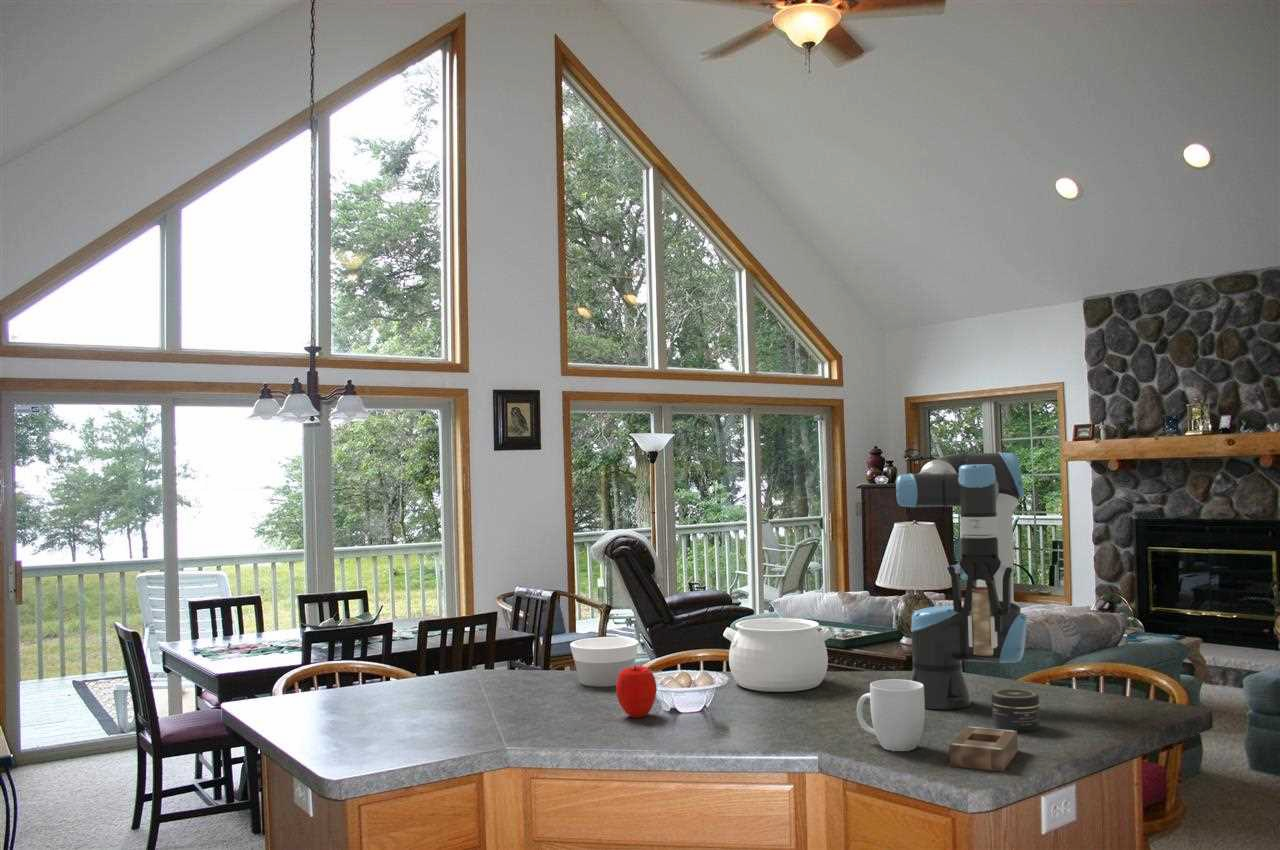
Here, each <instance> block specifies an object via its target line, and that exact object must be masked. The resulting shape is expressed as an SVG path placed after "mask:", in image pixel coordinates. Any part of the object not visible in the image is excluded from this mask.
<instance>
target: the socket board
mask: <svg viewBox="0 0 1280 850" xmlns="http://www.w3.org/2000/svg"><path fill="white" fill-rule="evenodd" d="M1018 745H1019V743H1018V732H1017V731H1013V730H1003V729H998V728H991V727H990V728H989V727H980V726H969V725H967V726H965V728H963V730H962V731H961V732H960V733H959V734H958V735H957V736H956V737H955V738H954V739H953V740H952V742H950V743H949V745H948V746H949V747H948V750H949V753H948V754H949V766H951V767H959V768H967V769H976V770H984V771H985V770H986V771H992V772H993V771H994V772H1004V771H1005V770H1006V768H1007V767H1008V766H1009V764H1010V763H1011V761H1012V759H1014V757H1015V756H1016V754H1017V753H1018V751H1019V750H1018V749H1019V746H1018Z"/></svg>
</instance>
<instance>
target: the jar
mask: <svg viewBox="0 0 1280 850" xmlns="http://www.w3.org/2000/svg"><path fill="white" fill-rule="evenodd" d="M991 708H992V709H991V710H992V721H993V724H994V726H995V728H996V729H1003V730H1013V731H1017V733H1031V732H1036V730H1037V729H1038V728H1039V725H1040V698H1039V694H1038V693H1037V692H1035V691H1032V690H1029V689H1024V688H1023V689H1022V688H1000V689H999V688H998V689H995V690H994V691H993V690H992V692H991Z"/></svg>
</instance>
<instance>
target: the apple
mask: <svg viewBox="0 0 1280 850" xmlns="http://www.w3.org/2000/svg"><path fill="white" fill-rule="evenodd" d="M657 690H658V689H657V682H656V677H655V675H654V674H653V671H652V670H651V669H650V668H649V667H647V666H643V665H641V666H640V665H638V666H636V664H634V667H631V668H626V669H623V670H622V671H621V672H620V673H619V676H618V678H617V682H616V686H615V692H616V698H617V700H618V703H619V705H620V707H621V708H622V710H623V711H624V712H625V714H626V715H627V716H629V717H632V718H634V719H638V718H639V719H641V718H644V717H646V716H647V715H648V714H649V713H650V712H651V709H652V708H653V706H654V704H655V702H656V701H655V700H656V696H657Z"/></svg>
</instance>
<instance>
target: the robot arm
mask: <svg viewBox="0 0 1280 850" xmlns="http://www.w3.org/2000/svg"><path fill="white" fill-rule="evenodd" d="M895 483H896V485H895V492H896V493H895V494H896V502H897V504H898V505H899V506H900V507H903V508H906V507H907V508H909V507H910V508H922V507H923V508H926V507H928V508H930V507H944V508H945V507H959V511H960V514H959V515H960V516H959V519H960V520H959V521H960V535H962V537H961V538H960V545H961V546H960V548H961V549H960V551H961V552H960V553H961V558H960V560H959V563H956V564H952V565H951V564H950V565H949V566H948V567H947V570H948V571H947V572H949V575H950V578H951V590H952V592H951V593H952V603H953V604H952V605H949V604H947V605H937V606H929V607H924V608H920V609H918V610H915V611H914V612H913V613H912V615H911V627H910V632H911V643H912V644H911V647H912V648H911V649H912V672H911V676H910V679H909V680H910V681H916V682H919V683H922V684H923V685H924V702H925V709H929V710H956V709H957V710H958V709H963V708H967V707H969V706H971V704H972V699H971V698H972V696H971V692H970V690H969V687H968V684H967V682H966V679H965V675H964V673H963V662H981V663H983V662H984V663H985V662H986V663H999V664H1004V663H1011V664H1012V663H1018V662H1020V661H1021V660H1023V656H1024V653H1025V647H1026V640H1027V627H1028V618H1027V617H1028V616H1027V614H1025V613H1024V612H1021V606H1020V604H1019V603H1017V602H1016V601H1015V600H1014V598H1015V596H1014V589H1015V588H1014V546H1013V545H1014V538H1013V537H1014V535H1013V533H1014V531H1013V510H1015V509H1016V508H1017V507H1018V506H1019V502H1020V501H1019V500H1021V499H1023V498H1025V489H1024V482H1023V477H1022V470H1021V466H1020V460H1019V456H1018V455H1016V453H1013V452H1001V451H997V452H984V453H983V452H980V453H979V452H977V453H954V454H948V455H945V456H941V457H938V458H935V459H933V460H931V461H929V462H927V463H925V464H924V465H923V467H922V468H921V469H920V472H919V473H906V474H899V475H898V476H897V477H896V482H895ZM961 569H962V570H963V572H964V573H965V574H966V576H967V581H966V588H965V589H966V590H965V594H964V599H963V603H962V591H961V580H960V579H961V578H960V574H961V572H962V571H961ZM974 587H987V588H988V592H989V597H990V601H991V605H992V616H991V617H990V622H991V648H993V655H989V656H981V655H975V654H974V649H973V622H972V588H974ZM962 604H963V606H962Z"/></svg>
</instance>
